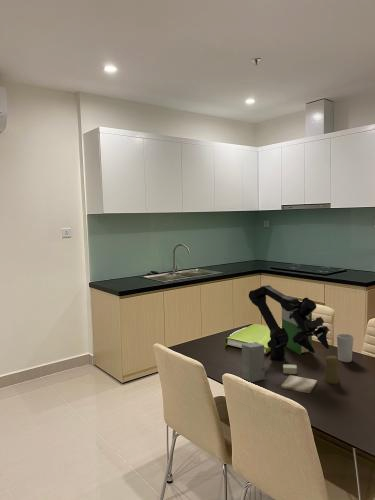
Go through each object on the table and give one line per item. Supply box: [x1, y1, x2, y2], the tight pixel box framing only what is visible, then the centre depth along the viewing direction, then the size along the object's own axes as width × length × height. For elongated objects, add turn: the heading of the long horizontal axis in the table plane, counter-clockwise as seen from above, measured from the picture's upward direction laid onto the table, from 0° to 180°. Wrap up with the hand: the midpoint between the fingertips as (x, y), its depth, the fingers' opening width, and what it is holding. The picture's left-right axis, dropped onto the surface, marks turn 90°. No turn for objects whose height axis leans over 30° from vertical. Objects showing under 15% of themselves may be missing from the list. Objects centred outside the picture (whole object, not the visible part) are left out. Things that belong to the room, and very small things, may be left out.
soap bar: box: [282, 363, 298, 375], centre depth 185 cm, size 6×4×3 cm, turn 77°
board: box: [280, 374, 318, 394], centre depth 171 cm, size 12×12×1 cm
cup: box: [336, 333, 355, 363], centre depth 198 cm, size 8×8×12 cm
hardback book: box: [281, 307, 313, 355], centre depth 216 cm, size 18×7×24 cm, turn 17°
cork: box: [324, 355, 340, 384], centre depth 174 cm, size 6×6×11 cm
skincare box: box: [241, 341, 265, 383], centre depth 179 cm, size 8×7×16 cm
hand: (321, 350), depth 178 cm, fingers open, 9 cm apart
